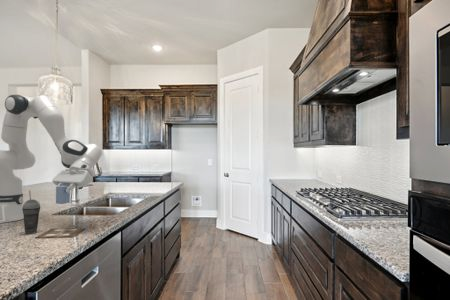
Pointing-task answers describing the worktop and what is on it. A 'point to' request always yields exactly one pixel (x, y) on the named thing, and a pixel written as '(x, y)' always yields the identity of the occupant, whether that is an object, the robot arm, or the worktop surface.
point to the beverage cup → (31, 215)
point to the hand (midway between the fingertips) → (61, 191)
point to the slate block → (62, 195)
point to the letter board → (61, 233)
